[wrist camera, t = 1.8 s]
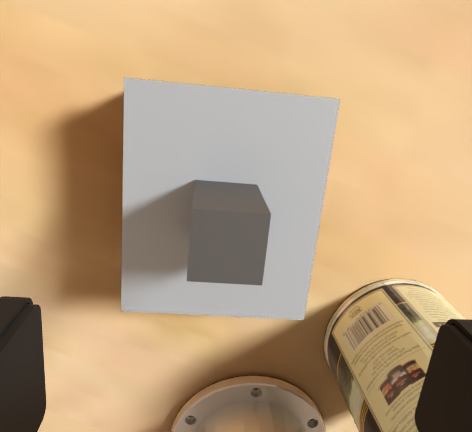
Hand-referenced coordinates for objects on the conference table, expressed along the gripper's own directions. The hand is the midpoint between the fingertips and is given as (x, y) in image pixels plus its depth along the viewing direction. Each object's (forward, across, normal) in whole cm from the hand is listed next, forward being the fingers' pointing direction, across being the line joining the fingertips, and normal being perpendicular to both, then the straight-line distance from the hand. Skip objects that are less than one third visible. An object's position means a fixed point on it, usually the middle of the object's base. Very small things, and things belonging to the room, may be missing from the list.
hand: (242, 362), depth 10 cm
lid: (+14, 0, 0) cm, 14 cm away
